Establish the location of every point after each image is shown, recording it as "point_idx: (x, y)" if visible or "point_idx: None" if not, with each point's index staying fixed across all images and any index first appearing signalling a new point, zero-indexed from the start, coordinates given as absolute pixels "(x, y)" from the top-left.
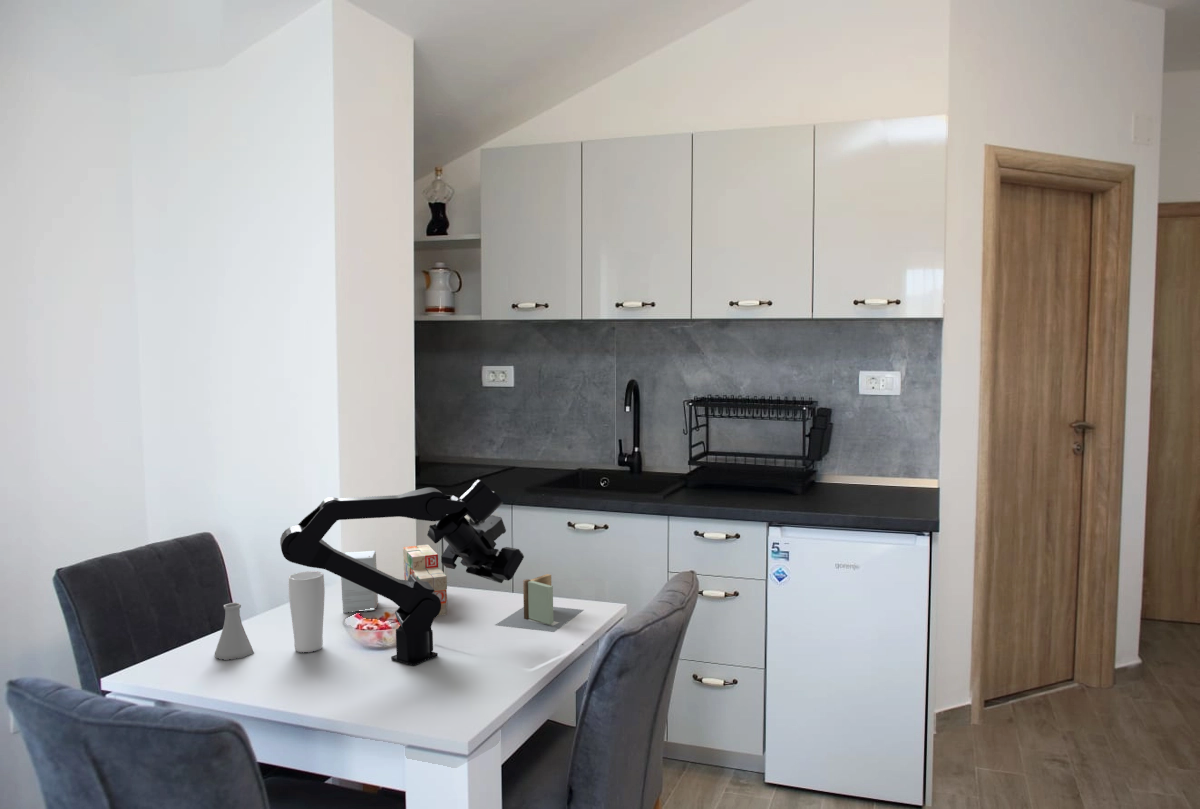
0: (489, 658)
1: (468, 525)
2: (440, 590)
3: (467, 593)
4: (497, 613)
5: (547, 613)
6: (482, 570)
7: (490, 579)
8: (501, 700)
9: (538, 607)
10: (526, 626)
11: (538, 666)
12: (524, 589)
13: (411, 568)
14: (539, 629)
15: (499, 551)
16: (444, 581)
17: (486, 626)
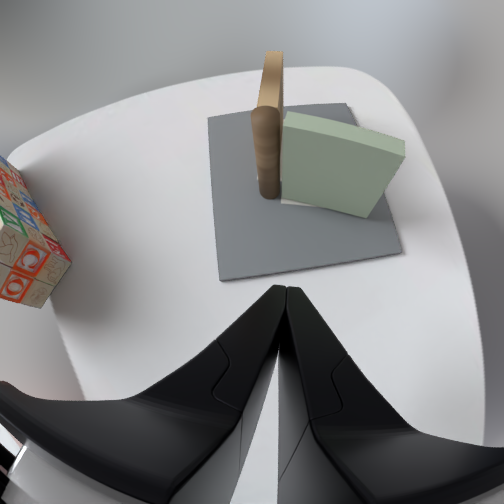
0: None
1: None
2: (21, 252)
3: (66, 136)
4: (166, 188)
5: (367, 202)
6: (229, 495)
7: (263, 403)
8: None
9: (330, 187)
10: (312, 249)
11: (467, 439)
12: (265, 146)
13: None
14: (360, 254)
15: (499, 484)
16: (11, 235)
17: (195, 287)
